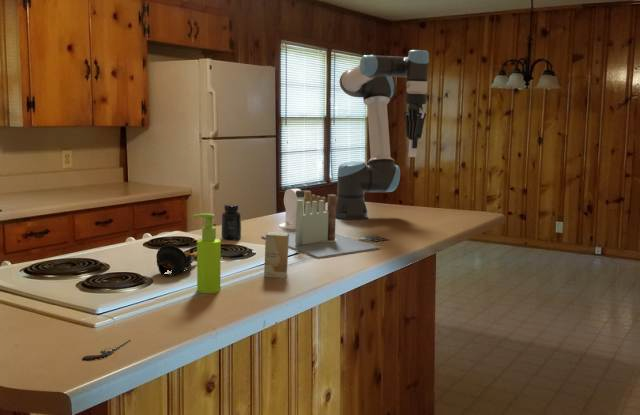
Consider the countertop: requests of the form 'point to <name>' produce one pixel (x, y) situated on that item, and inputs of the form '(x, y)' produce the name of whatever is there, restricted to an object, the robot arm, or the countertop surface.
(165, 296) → the countertop surface
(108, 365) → the countertop surface
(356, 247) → the card
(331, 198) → the fence fixed
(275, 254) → the skincare box
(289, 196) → the panda figurine
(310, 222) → the fence panel
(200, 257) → the soap dispenser
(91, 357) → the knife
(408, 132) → the robot arm
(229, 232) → the supplement bottle
